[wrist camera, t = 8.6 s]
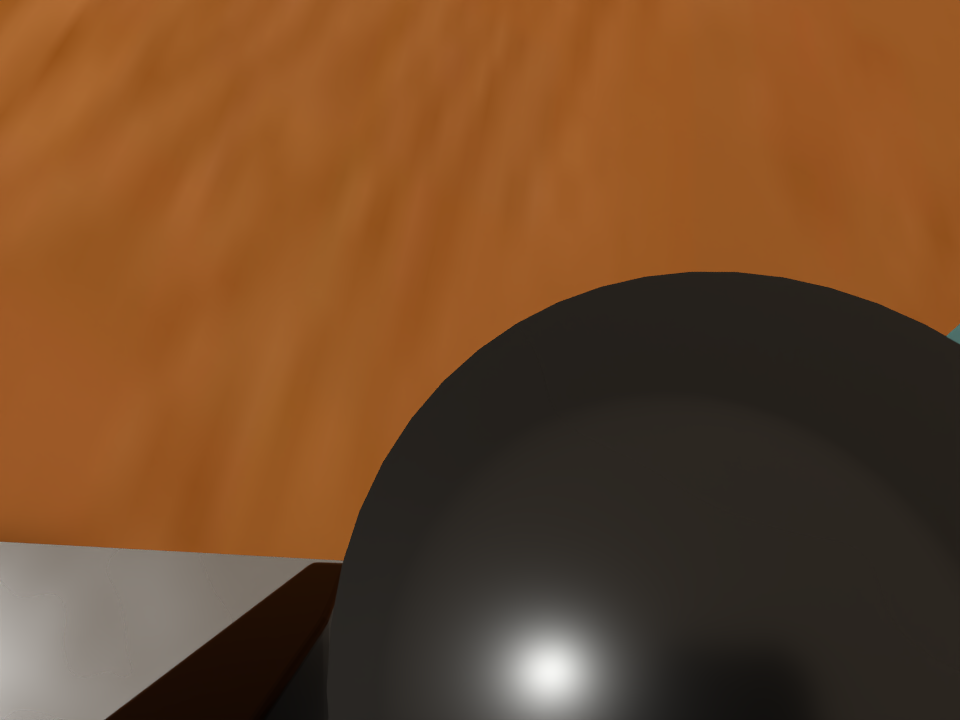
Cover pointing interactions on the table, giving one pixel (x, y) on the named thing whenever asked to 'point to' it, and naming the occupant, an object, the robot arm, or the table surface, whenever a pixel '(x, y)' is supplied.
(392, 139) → the table surface
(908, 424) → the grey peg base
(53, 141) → the table surface
